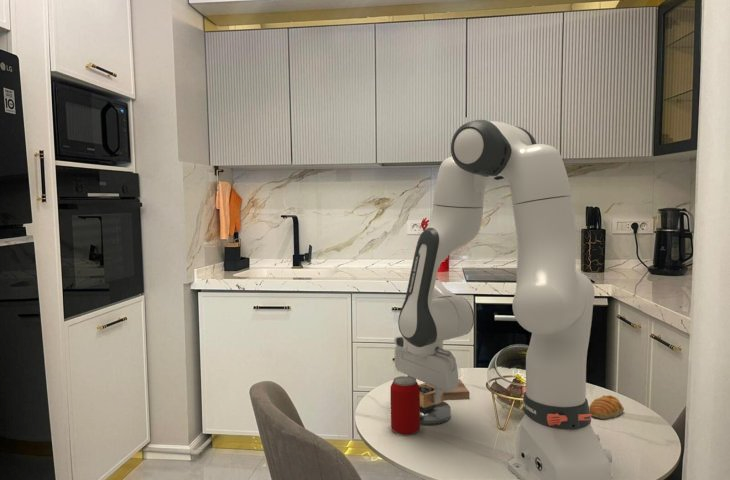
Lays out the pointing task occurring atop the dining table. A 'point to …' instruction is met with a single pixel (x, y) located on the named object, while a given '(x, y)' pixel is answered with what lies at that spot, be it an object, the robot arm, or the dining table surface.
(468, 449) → the dining table surface
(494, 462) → the dining table surface
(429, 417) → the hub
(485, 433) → the dining table surface
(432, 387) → the wooden square frame
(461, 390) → the walnut stand
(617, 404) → the pastry
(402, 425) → the beverage can
